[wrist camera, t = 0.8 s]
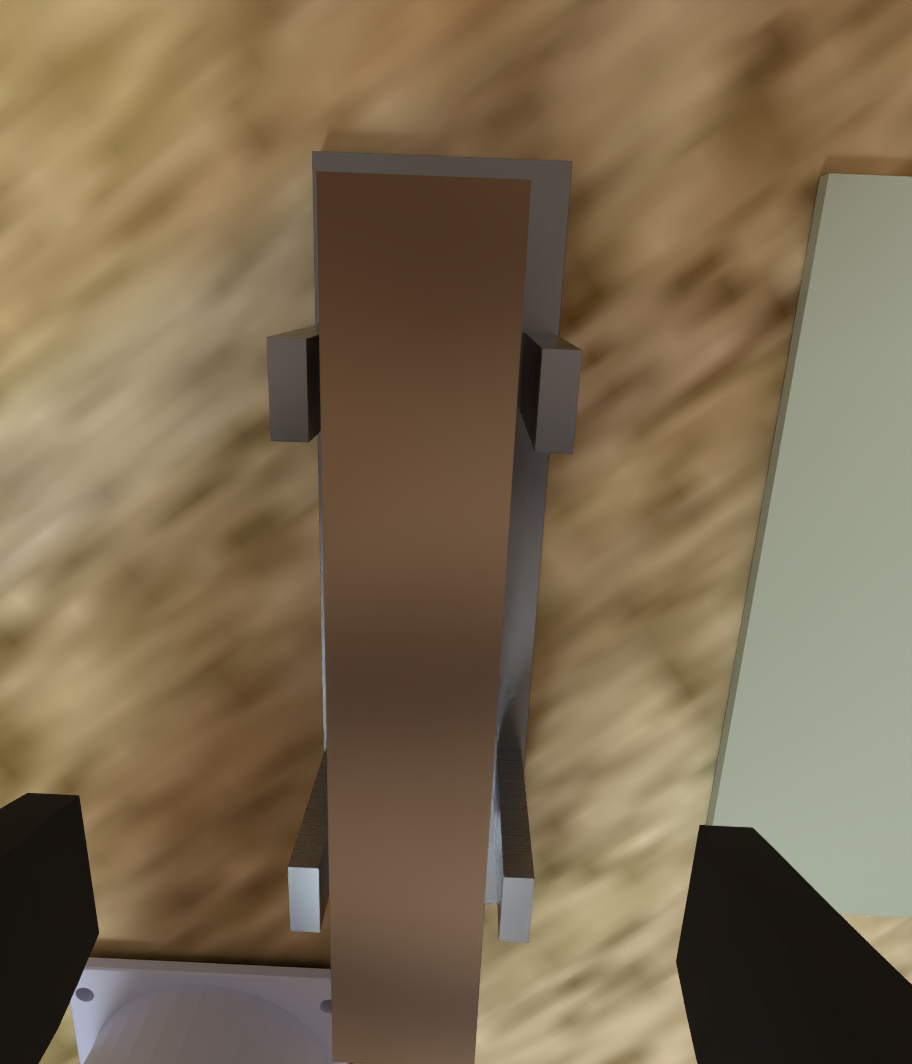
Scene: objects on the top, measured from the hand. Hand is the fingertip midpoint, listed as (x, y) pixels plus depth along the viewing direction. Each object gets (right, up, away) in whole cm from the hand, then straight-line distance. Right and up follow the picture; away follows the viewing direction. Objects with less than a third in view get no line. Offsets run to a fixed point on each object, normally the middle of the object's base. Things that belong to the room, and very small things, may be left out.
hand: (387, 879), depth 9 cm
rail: (0, +2, +6) cm, 6 cm away
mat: (+11, +2, +9) cm, 15 cm away
